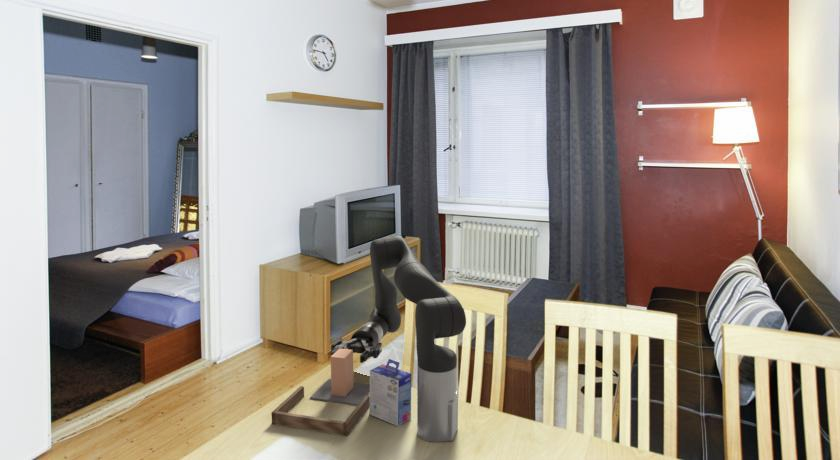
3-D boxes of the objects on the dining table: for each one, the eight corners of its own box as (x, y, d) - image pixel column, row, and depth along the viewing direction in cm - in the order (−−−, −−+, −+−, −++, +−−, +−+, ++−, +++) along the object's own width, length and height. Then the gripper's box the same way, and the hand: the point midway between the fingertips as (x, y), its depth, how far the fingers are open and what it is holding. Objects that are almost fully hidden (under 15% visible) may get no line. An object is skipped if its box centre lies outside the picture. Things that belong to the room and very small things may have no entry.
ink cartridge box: (412, 418, 140) (412, 364, 138) (398, 427, 136) (398, 371, 133) (383, 406, 146) (382, 354, 143) (368, 415, 142) (367, 361, 139)
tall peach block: (353, 386, 156) (352, 349, 154) (345, 396, 150) (344, 358, 149) (340, 385, 157) (339, 348, 155) (331, 394, 151) (330, 356, 150)
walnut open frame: (369, 406, 146) (369, 395, 145) (347, 435, 132) (346, 424, 131) (300, 396, 151) (300, 386, 151) (271, 423, 137) (271, 412, 137)
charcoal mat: (374, 385, 158) (374, 384, 158) (358, 405, 146) (358, 404, 146) (329, 379, 161) (329, 378, 161) (310, 398, 150) (310, 397, 150)
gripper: (346, 323, 172) (323, 342, 157) (389, 327, 169) (370, 348, 153) (346, 346, 174) (324, 367, 158) (389, 351, 170) (371, 373, 155)
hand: (347, 357), depth 156 cm, fingers open, 8 cm apart
